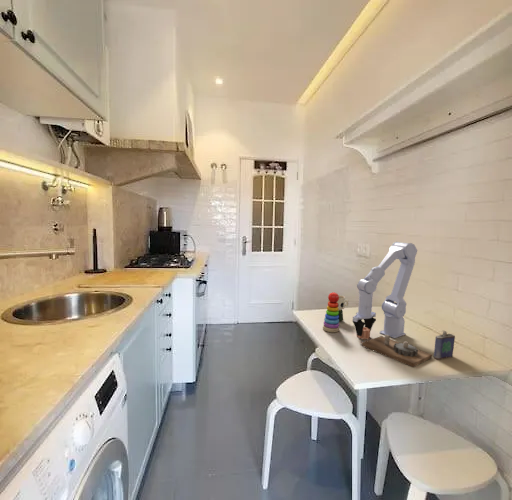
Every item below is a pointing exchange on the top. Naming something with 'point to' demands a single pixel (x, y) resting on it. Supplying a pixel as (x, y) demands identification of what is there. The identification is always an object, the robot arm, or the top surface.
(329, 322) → the stacking toy
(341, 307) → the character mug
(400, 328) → the robot arm
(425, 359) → the board
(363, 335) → the terracotta gear
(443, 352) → the flask
